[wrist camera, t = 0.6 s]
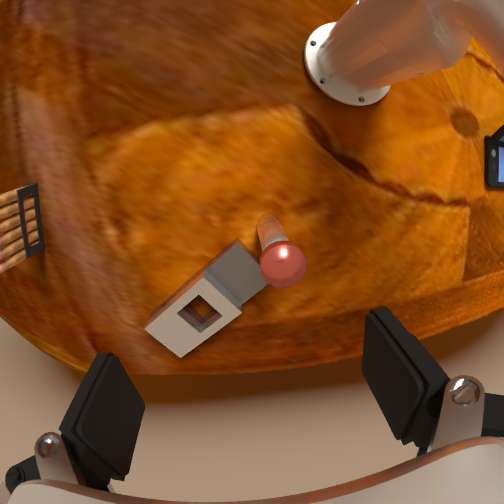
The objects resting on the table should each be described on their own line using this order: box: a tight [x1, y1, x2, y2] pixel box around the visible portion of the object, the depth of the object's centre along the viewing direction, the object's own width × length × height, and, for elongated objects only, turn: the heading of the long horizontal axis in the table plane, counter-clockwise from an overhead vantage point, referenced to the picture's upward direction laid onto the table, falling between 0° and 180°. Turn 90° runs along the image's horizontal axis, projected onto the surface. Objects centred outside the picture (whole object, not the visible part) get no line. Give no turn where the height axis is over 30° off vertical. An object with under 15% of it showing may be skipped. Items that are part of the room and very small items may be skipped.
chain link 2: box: [144, 271, 242, 358], centre depth 38 cm, size 12×7×4 cm, turn 131°
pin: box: [257, 215, 307, 288], centre depth 30 cm, size 4×4×13 cm
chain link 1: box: [165, 238, 268, 325], centre depth 38 cm, size 14×7×2 cm, turn 131°
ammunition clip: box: [0, 183, 45, 273], centre depth 28 cm, size 11×2×12 cm, turn 177°
